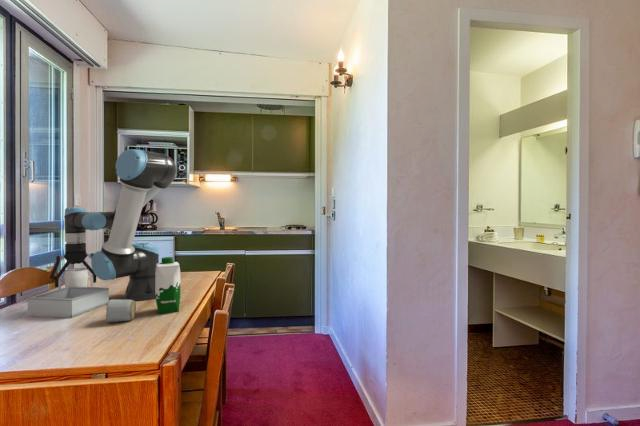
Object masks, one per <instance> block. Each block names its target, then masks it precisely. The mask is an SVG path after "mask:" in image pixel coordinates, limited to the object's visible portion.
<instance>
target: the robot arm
mask: <svg viewBox="0 0 640 426" xmlns="http://www.w3.org/2000/svg"><path fill="white" fill-rule="evenodd" d="M115 173H116V175H117V176H118V178H119V179H118V180H119V182H120V184H121V185H122V187H121V190H120V194H119V198H118V202H117V206H116V208H115V209H114V210H113V211H89V212H88V211H87V212H86V208H85V207H66V208H64V216H63V218H64V242H65V244H64V255H56V257H55V258H56V261H55V263H54V265H53V268H52V271H51V272H50V275H49V279H50V280H54V286H55V287H54V288H58V289H62V286H61V285H62V284H61V283H62V282H61V281H62V280H61V278H60V277H61V276H62V275H63V274H64V271H65V270H67V269H68V266H70V265H75V264H83V266H85V268H87V269H88V272H90V274H91V275H90V287H94V284H96V283H97V278H98V279H99V280H102V281H109V280H110V281H111V280H116V279H120V278H126V277H129V279H128V280H129V281H128V282H127V286H126V290H125V291H124V292H125V293H124V300H134V301H147V300H153V299H156V296H155V276H156V275H155V270H156V264H157V263H160V262H159V261H160V259H159V257H160V254H159V248H158V245H154V244H141V243H139V244H137V243H133V242H134V239H135V236H136V232H137V228H138V225H139V221H140V218H141V213H142V212H143V208H144V207H145V206H146V205H147V204H148V203H149V202H150V201H151V200H152V199H153V198H154V197H155V196H156V195H157V194H158V193H159V192H160V191H161V190H166V189H167V188H169V186H170V185H171V184H172V183H173V182H174V180H175V178H176V175H177V166H176V163H175V161H174V160H173V159H172V157H170V156H168V155H167V154H164V153H161V152H154V151H148V150H144V149H143V150H142V149H133V148H131V149H129V148H128V149H126V150H124V151H123V152H121V153H120V155H118V157H117V160H116V162H115ZM108 229H110V233H109V236H108V239H107V241H105V242H103V244H102V246H101V248H100V249H101V250H100V251H99V250H98V251H96V252H91V253H87V243H86V241H87V231H89V230H90V231H98V230H108ZM87 257H88V258H89V259H91V262H90V263H91V266H90V265H89V264H88V262H87V261H86V259H87ZM63 259H65V260H66V262H65V263H64V265H63V266H62V267H61V269H60V270H59V271H58V272H57V270H58V266H59V265H60V262H61V261H62V260H63ZM56 272H57V274H56ZM55 274H56V275H55ZM58 289H57V290H58Z"/></svg>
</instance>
